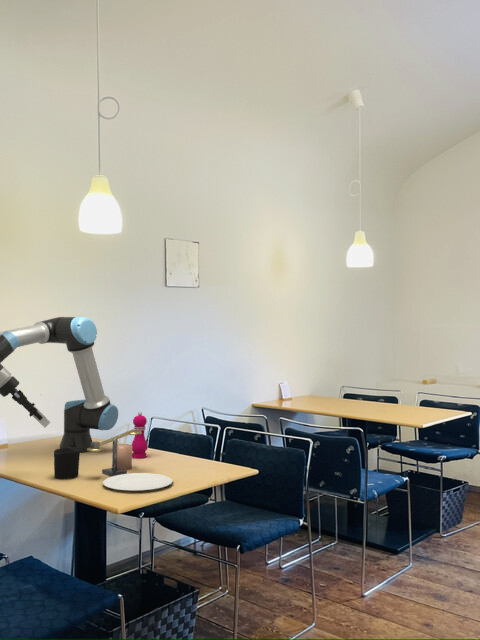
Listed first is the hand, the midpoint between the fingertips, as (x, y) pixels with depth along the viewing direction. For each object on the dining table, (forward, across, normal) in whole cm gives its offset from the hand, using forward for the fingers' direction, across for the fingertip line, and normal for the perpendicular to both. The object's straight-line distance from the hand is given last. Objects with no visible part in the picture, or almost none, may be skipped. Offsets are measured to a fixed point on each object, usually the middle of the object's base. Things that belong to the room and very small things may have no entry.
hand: (45, 422), depth 223 cm
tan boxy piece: (+36, -7, +8) cm, 38 cm away
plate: (+36, +21, +7) cm, 42 cm away
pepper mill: (+44, -25, +16) cm, 53 cm away
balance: (+33, +2, +4) cm, 33 cm away
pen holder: (+20, 0, -9) cm, 22 cm away
